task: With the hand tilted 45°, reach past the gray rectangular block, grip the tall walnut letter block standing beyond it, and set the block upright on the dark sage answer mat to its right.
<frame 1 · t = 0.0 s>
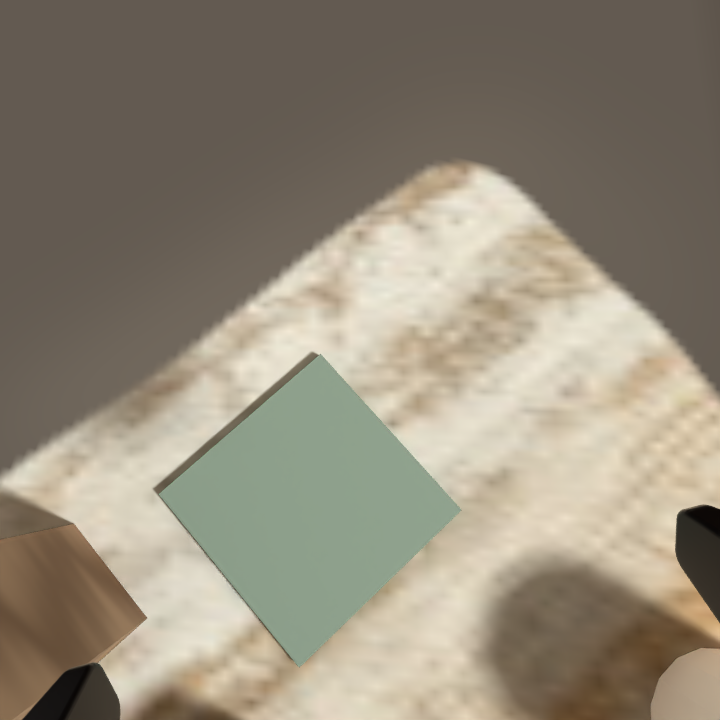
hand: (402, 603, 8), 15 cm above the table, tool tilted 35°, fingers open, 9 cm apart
letter block: (60, 613, 22), on the table
answer mat: (311, 501, 23), on the table
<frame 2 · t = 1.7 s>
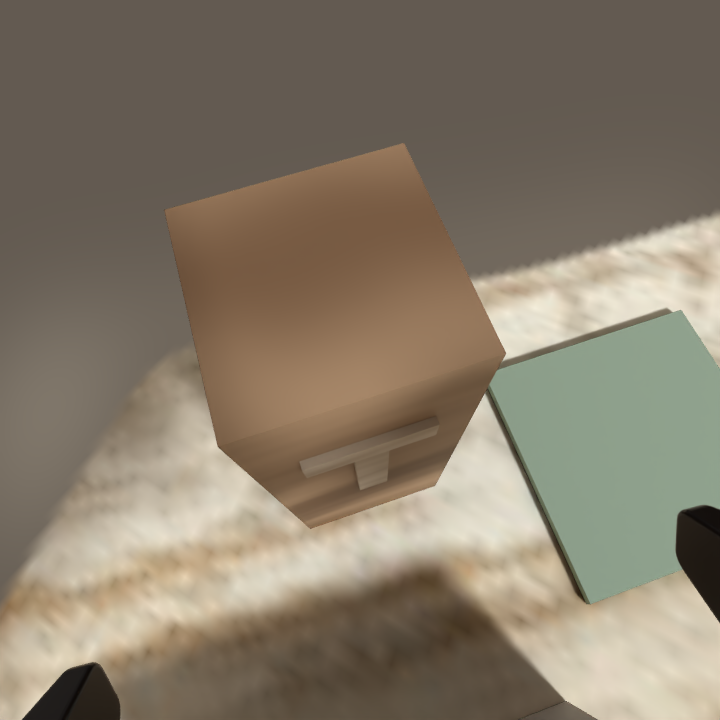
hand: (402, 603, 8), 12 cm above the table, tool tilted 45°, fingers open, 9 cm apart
letter block: (353, 445, 21), on the table
answer mat: (636, 444, 21), on the table
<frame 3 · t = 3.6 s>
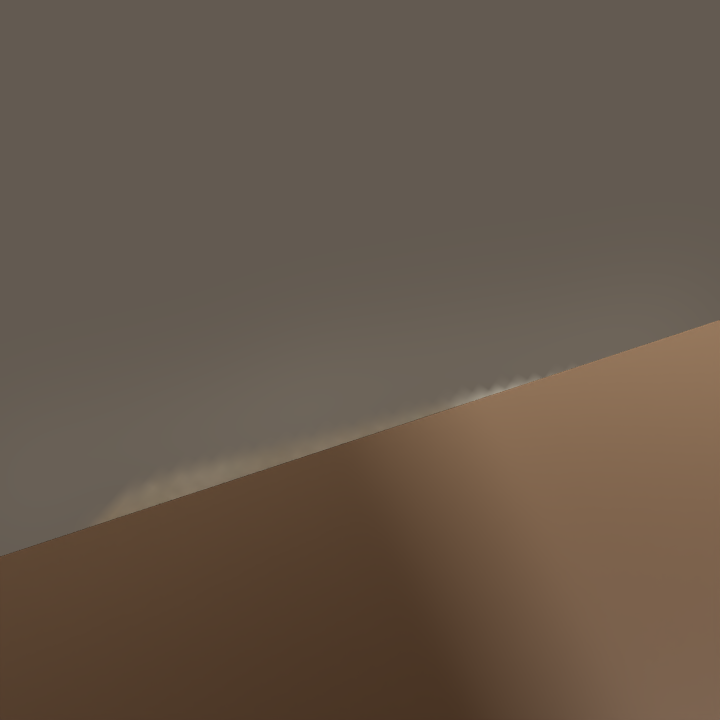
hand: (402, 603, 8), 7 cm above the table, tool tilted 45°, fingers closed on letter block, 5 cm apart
letter block: (406, 654, 14), on the table, touching gripper
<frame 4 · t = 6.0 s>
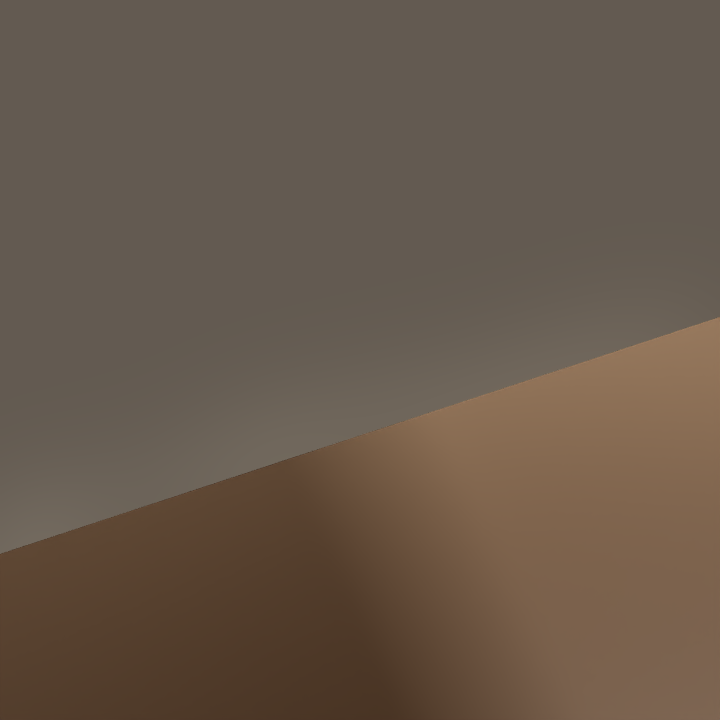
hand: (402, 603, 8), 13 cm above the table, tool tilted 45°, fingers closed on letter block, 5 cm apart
letter block: (405, 654, 14), point 7 cm above the table, touching gripper
when the fingers open (8 cm above the table, at t = 8.4 s): letter block stays where it is, resting on answer mat.
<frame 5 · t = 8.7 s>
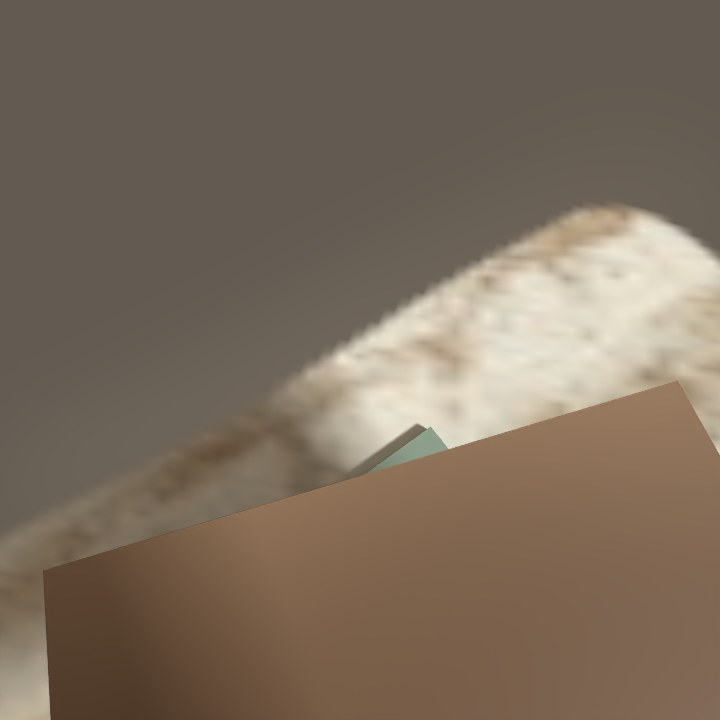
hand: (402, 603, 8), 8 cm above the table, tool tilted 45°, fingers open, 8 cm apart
letter block: (404, 649, 15), resting on answer mat
answer mat: (402, 647, 15), on the table
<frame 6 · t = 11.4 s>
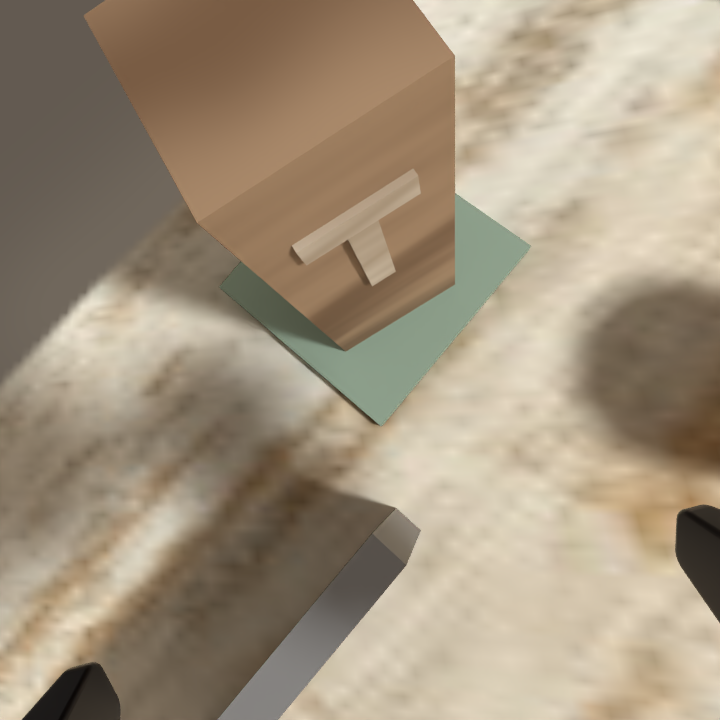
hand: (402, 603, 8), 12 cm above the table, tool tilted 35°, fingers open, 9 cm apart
letter block: (368, 267, 21), resting on answer mat
gray rectangular block: (305, 642, 20), on the table
answer mat: (369, 270, 22), on the table
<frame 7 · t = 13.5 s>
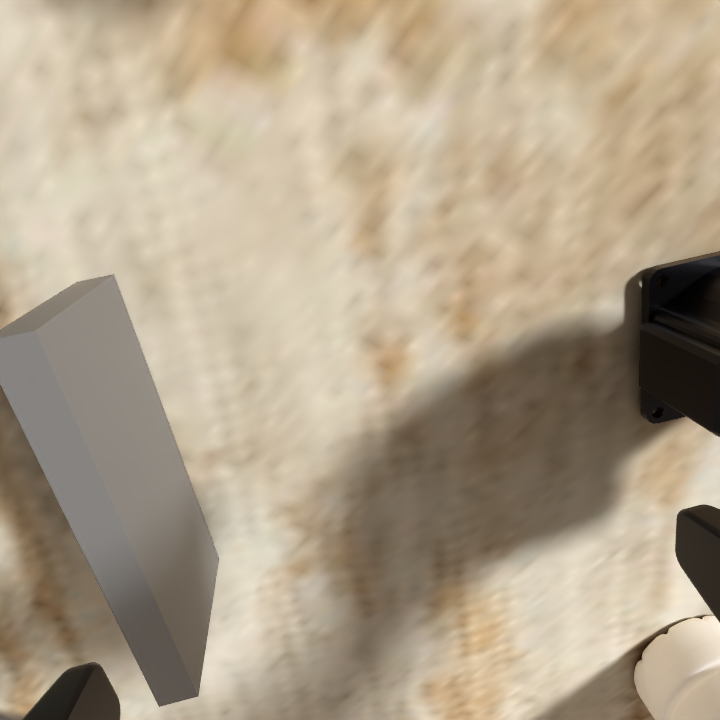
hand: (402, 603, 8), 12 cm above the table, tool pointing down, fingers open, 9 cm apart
gray rectangular block: (156, 436, 19), on the table
water bottle: (671, 649, 28), on the table
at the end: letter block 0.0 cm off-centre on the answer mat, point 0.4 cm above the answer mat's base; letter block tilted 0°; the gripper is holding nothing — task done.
